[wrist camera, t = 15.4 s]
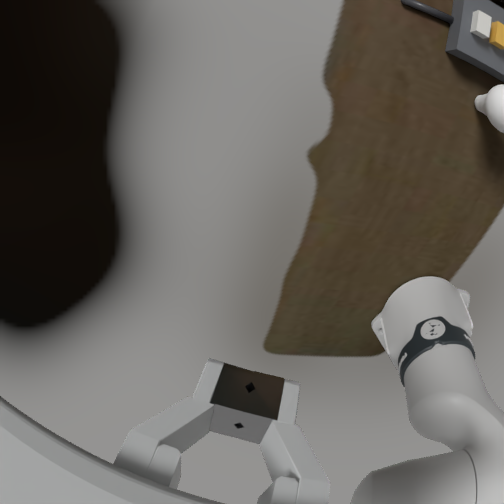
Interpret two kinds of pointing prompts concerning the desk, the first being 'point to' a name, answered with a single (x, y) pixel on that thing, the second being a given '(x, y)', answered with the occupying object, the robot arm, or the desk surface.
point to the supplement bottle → (499, 2)
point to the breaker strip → (473, 33)
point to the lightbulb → (493, 106)
